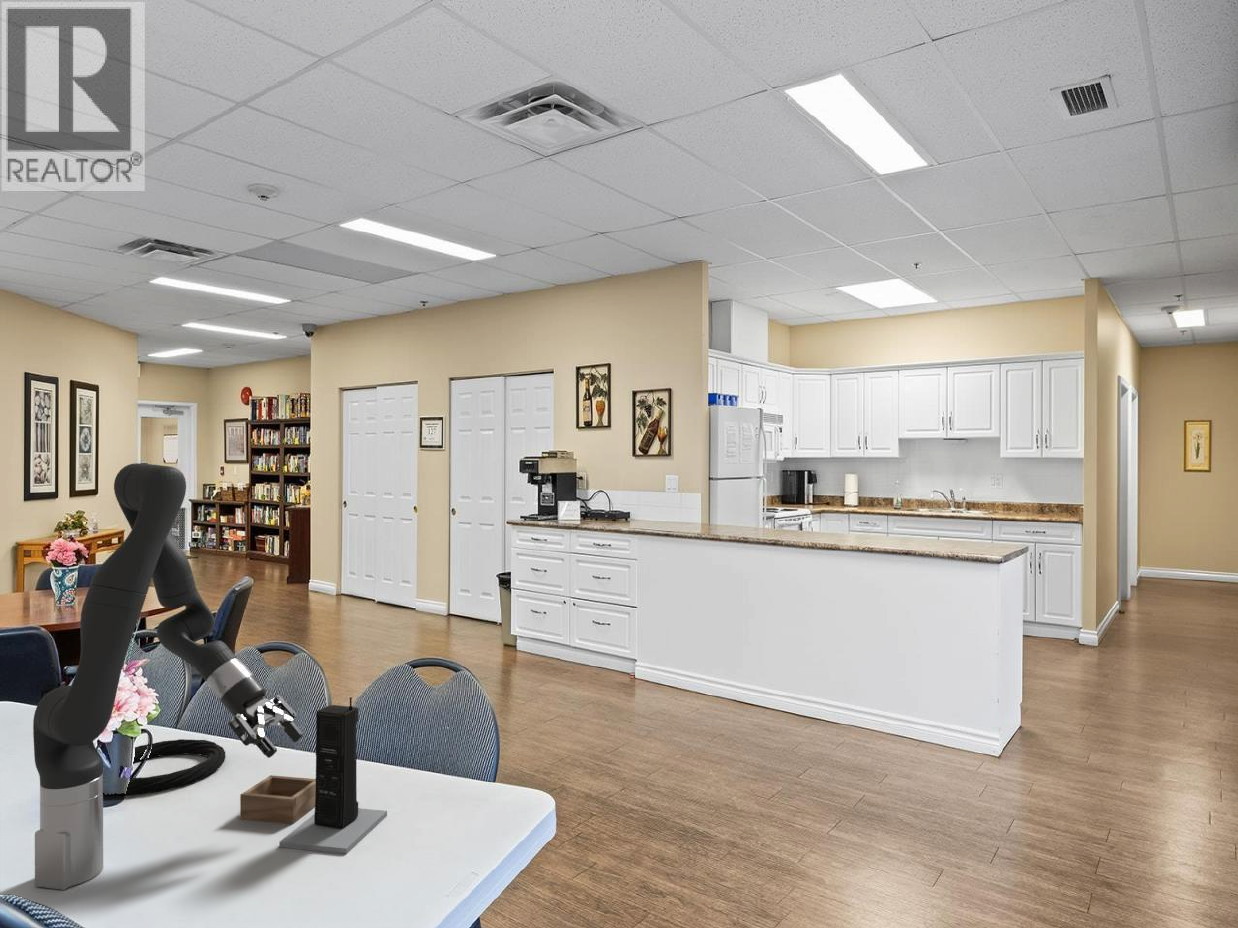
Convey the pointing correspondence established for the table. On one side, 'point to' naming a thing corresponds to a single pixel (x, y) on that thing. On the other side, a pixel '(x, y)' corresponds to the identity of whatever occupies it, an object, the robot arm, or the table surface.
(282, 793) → the walnut collar
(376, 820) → the slate mat
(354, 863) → the table surface
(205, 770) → the cable lock
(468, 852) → the table surface
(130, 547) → the robot arm
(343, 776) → the portable radio
